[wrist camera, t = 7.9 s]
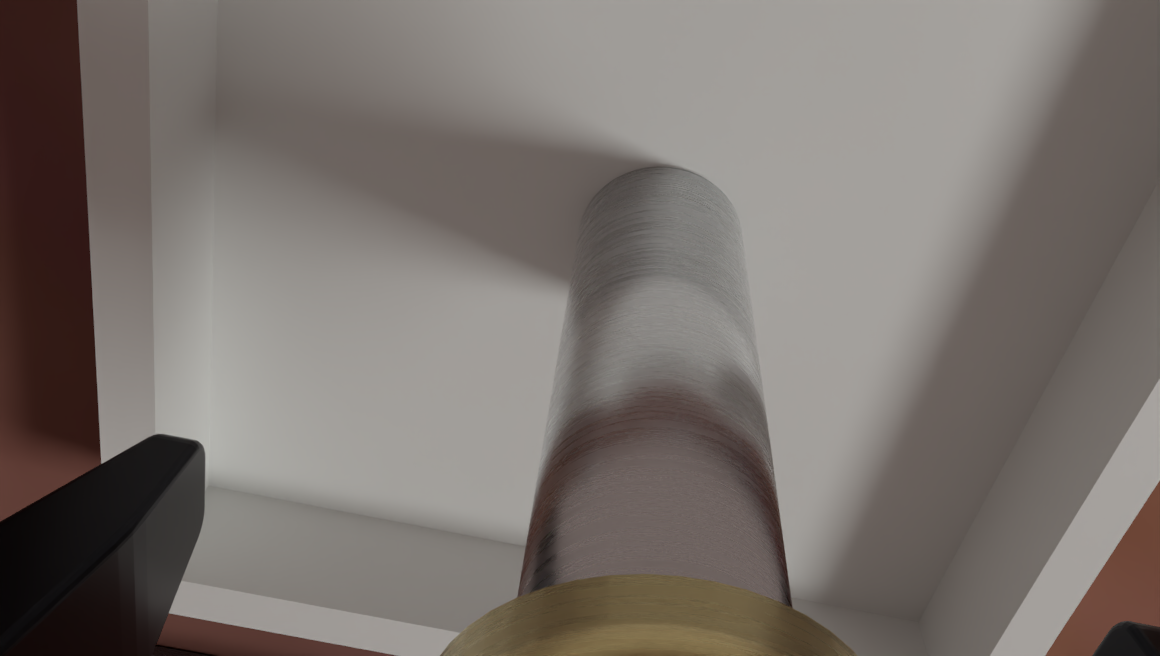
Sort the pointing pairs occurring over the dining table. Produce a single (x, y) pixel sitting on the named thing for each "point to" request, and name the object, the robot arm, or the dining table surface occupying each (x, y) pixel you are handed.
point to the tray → (543, 272)
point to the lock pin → (655, 450)
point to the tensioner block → (172, 652)
